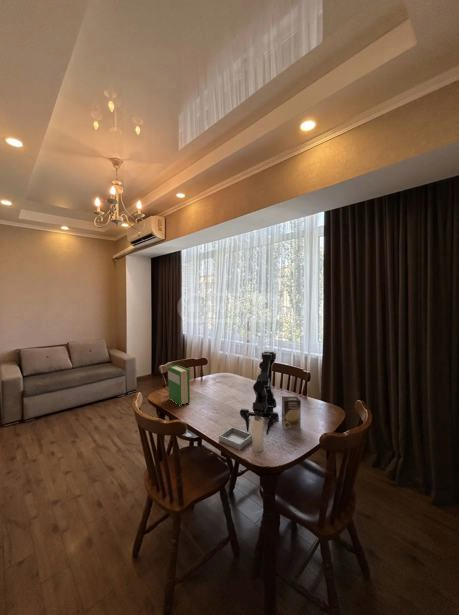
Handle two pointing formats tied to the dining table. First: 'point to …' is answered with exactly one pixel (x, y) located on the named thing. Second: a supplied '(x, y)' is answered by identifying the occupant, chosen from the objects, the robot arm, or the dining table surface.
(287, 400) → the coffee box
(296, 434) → the dining table surface
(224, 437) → the tray
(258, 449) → the cream bottle
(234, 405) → the dining table surface
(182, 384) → the hardback book
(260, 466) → the dining table surface
